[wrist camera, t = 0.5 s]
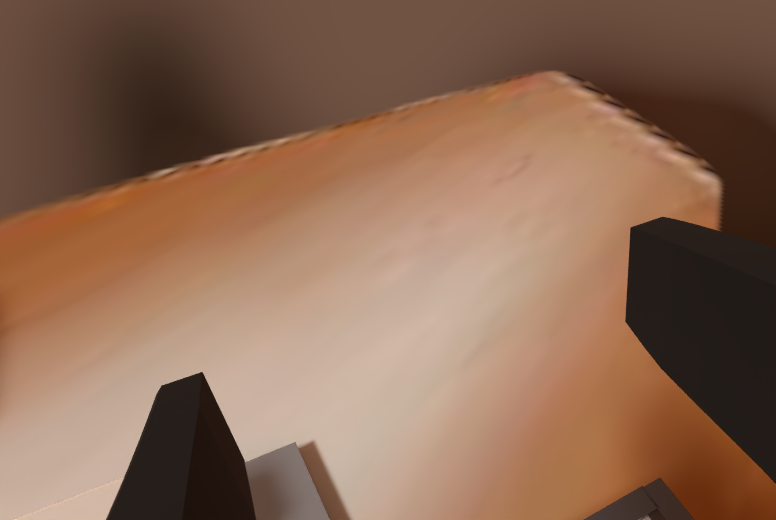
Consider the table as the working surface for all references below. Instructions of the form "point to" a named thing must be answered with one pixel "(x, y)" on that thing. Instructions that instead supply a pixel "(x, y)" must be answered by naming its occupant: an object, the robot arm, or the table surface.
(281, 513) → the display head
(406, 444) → the table surface
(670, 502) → the glasses
